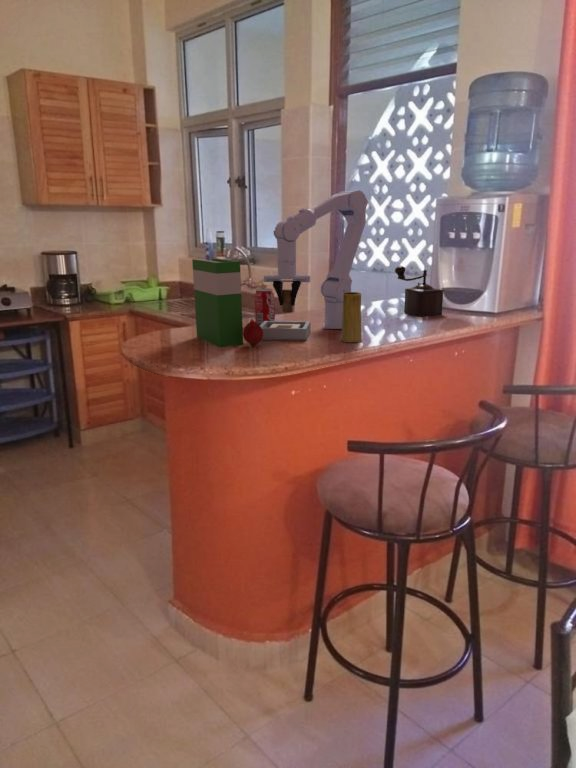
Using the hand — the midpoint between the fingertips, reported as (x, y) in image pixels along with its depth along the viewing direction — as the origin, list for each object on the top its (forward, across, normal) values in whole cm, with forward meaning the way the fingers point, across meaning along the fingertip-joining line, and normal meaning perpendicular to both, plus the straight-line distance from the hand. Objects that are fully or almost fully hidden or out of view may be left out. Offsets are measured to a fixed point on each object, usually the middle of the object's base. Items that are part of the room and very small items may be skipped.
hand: (287, 305), depth 179 cm
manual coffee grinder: (+9, +43, +40) cm, 59 cm away
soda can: (+9, -10, +16) cm, 21 cm away
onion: (+9, -7, -20) cm, 23 cm away
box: (+9, 0, -5) cm, 10 cm away
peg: (+2, 0, 0) cm, 2 cm away
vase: (+9, +21, -10) cm, 25 cm away
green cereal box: (+9, -19, -13) cm, 25 cm away
